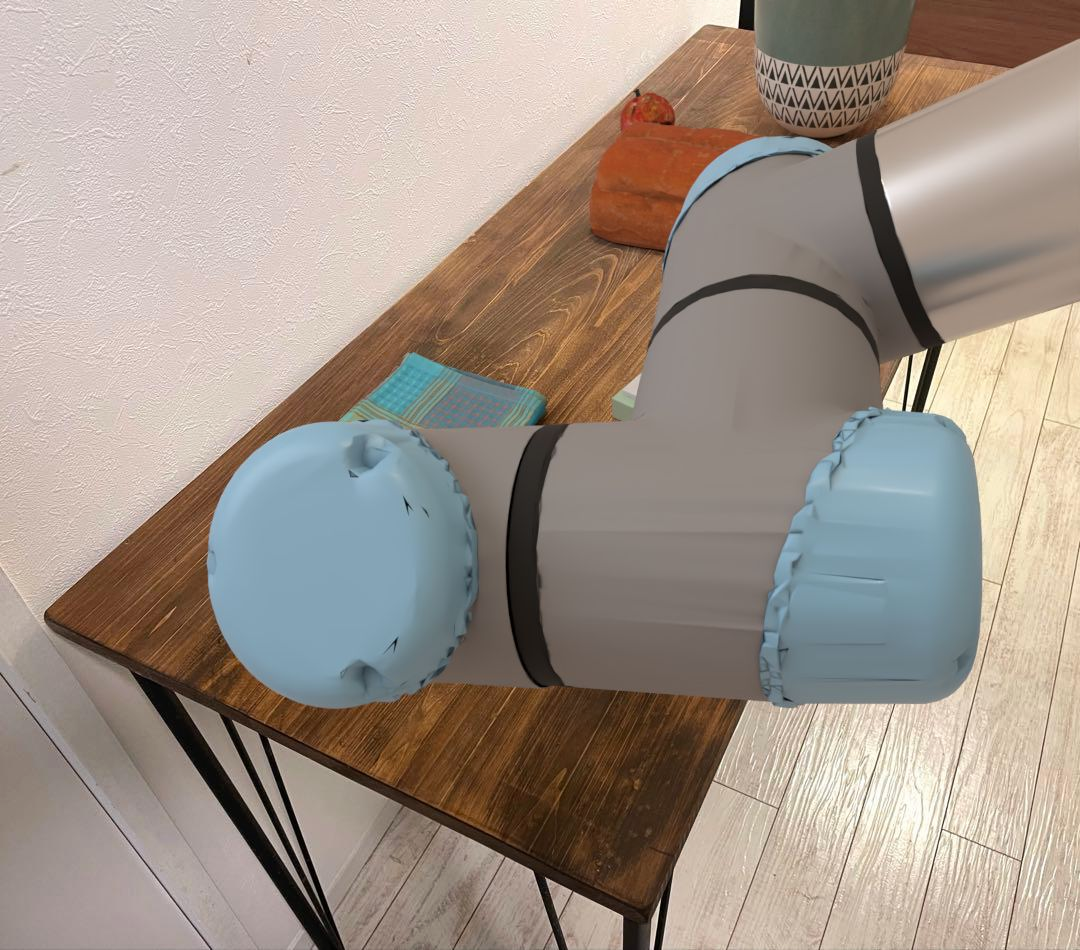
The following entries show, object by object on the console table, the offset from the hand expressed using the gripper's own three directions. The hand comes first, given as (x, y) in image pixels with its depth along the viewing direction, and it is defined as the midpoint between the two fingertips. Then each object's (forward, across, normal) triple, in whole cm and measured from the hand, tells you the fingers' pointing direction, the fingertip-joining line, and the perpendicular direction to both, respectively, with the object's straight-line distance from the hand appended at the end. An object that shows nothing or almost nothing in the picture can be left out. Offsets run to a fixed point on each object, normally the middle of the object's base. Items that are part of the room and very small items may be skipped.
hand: (639, 522), depth 59 cm
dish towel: (+19, -26, 0) cm, 32 cm away
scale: (+29, -2, +10) cm, 31 cm away
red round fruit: (+65, -22, +46) cm, 83 cm away
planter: (+72, -1, +53) cm, 89 cm away
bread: (+51, -9, +32) cm, 61 cm away
